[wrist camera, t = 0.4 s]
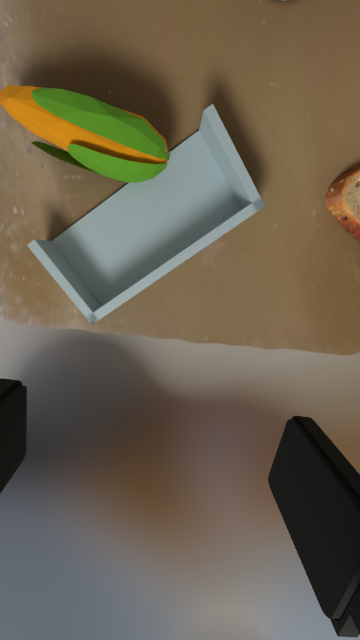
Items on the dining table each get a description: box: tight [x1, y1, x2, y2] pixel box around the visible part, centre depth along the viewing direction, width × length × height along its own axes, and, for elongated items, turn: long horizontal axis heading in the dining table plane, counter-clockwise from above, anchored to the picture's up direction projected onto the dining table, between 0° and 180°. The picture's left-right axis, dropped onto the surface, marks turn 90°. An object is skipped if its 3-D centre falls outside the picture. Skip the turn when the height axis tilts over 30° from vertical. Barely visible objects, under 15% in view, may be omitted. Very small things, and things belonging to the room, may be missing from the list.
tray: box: [27, 104, 265, 324], centre depth 32 cm, size 27×12×5 cm, turn 124°
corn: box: [0, 86, 170, 183], centre depth 28 cm, size 7×8×20 cm
